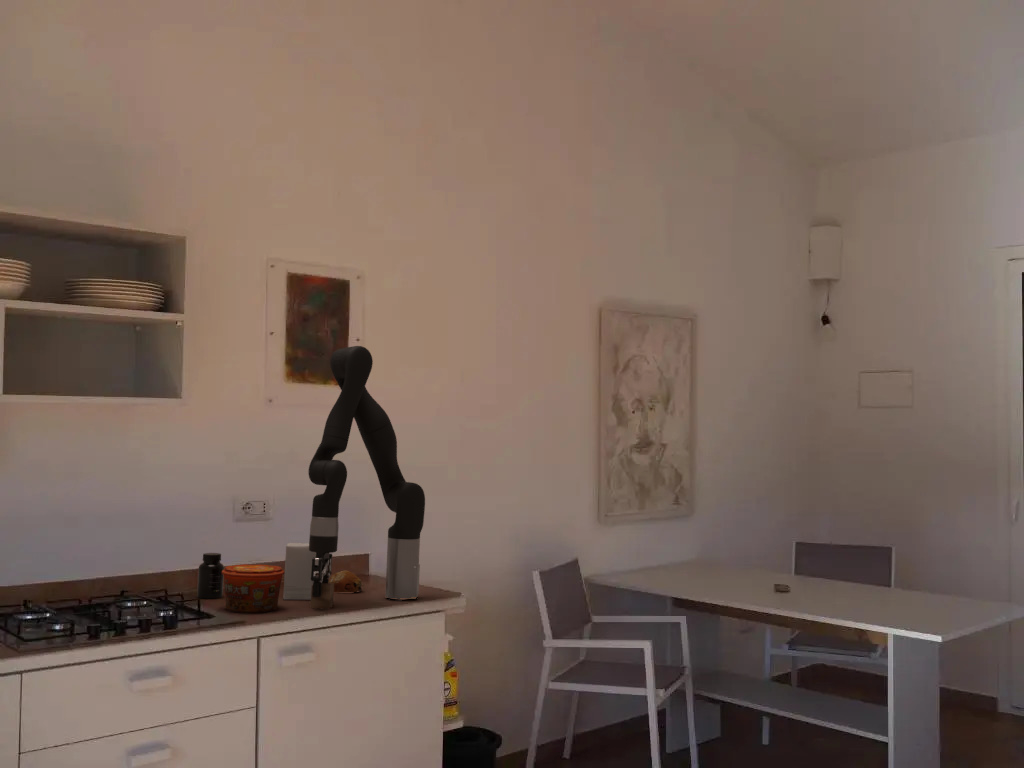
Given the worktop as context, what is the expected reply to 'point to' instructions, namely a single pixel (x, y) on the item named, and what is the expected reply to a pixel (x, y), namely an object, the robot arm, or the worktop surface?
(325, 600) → the walnut block
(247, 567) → the food container
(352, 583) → the bread roll
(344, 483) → the robot arm
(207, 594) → the supplement bottle
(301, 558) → the supplement box
